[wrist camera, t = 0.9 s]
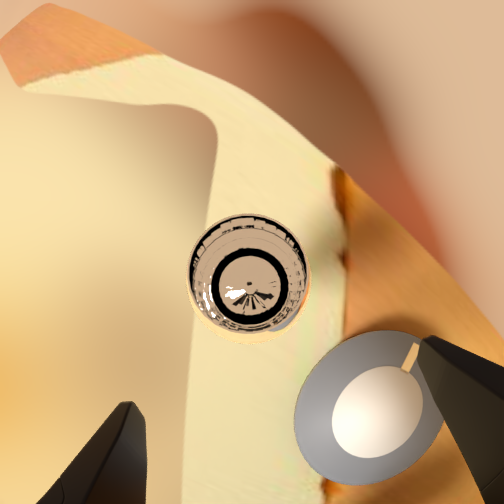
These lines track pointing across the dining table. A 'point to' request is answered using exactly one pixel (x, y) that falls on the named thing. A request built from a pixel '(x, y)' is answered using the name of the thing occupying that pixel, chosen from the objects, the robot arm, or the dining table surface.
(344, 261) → the dining table surface
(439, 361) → the robot arm
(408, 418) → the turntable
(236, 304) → the wineglass
